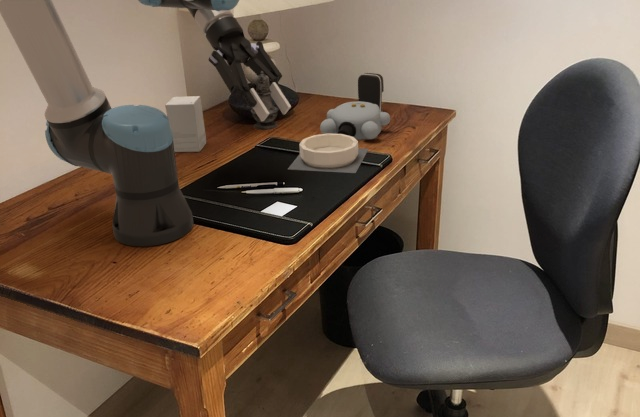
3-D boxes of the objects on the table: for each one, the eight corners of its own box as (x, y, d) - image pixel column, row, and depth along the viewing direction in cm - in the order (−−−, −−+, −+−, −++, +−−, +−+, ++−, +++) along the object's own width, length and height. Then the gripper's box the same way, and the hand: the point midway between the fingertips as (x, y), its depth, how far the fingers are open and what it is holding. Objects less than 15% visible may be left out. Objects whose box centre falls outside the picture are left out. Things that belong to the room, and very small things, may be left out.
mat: (355, 174, 150) (355, 172, 150) (287, 170, 154) (287, 169, 154) (368, 150, 164) (368, 148, 164) (306, 147, 168) (306, 145, 168)
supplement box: (207, 142, 175) (201, 95, 170) (200, 152, 168) (193, 103, 163) (179, 142, 176) (173, 95, 171) (171, 152, 169) (164, 104, 164)
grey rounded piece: (336, 119, 187) (311, 151, 171) (334, 91, 183) (308, 120, 167) (396, 124, 181) (377, 156, 165) (396, 94, 177) (375, 124, 161)
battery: (385, 112, 193) (385, 73, 188) (379, 116, 190) (379, 76, 185) (363, 109, 196) (362, 71, 191) (357, 113, 193) (356, 74, 188)
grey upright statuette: (283, 122, 145) (279, 67, 140) (274, 130, 140) (270, 74, 135) (257, 121, 147) (253, 66, 142) (248, 129, 142) (243, 73, 137)
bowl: (351, 170, 152) (350, 154, 150) (294, 167, 155) (293, 151, 153) (362, 150, 163) (362, 134, 162) (309, 147, 167) (308, 132, 165)
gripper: (246, 31, 152) (300, 113, 148) (178, 44, 140) (235, 134, 137) (259, 8, 146) (316, 94, 143) (190, 21, 135) (250, 114, 131)
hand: (276, 113), depth 140 cm, fingers closed on grey upright statuette, 5 cm apart
